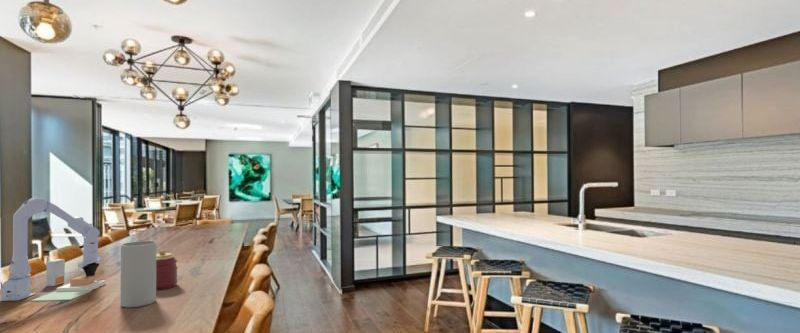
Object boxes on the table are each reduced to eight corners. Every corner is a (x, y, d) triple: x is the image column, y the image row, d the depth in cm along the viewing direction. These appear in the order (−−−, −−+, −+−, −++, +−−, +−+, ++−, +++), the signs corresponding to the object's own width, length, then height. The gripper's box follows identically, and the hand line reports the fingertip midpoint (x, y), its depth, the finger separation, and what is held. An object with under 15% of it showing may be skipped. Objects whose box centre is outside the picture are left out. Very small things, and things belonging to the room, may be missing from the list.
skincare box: (54, 286, 197) (54, 261, 197) (45, 286, 197) (46, 261, 197) (65, 282, 203) (65, 258, 203) (56, 282, 203) (56, 258, 203)
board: (88, 291, 187) (88, 287, 187) (56, 292, 186) (56, 288, 186) (105, 284, 199) (105, 280, 199) (75, 285, 198) (75, 281, 198)
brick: (85, 285, 190) (86, 278, 190) (70, 285, 190) (70, 279, 190) (94, 282, 196) (94, 275, 196) (79, 282, 196) (79, 276, 196)
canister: (183, 283, 201) (183, 247, 201) (165, 290, 188) (165, 252, 188) (158, 282, 202) (159, 247, 202) (139, 290, 189) (139, 252, 189)
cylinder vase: (138, 309, 162) (139, 246, 162) (112, 307, 164) (113, 245, 165) (163, 299, 174) (163, 241, 174) (138, 298, 176) (138, 240, 177)
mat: (70, 300, 174) (70, 299, 174) (30, 301, 173) (30, 300, 173) (91, 291, 187) (91, 290, 187) (54, 292, 186) (54, 291, 186)
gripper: (89, 253, 192) (89, 282, 192) (108, 248, 207) (108, 275, 206) (73, 254, 191) (73, 283, 191) (93, 248, 206) (93, 275, 206)
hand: (90, 279), depth 199 cm, fingers closed
